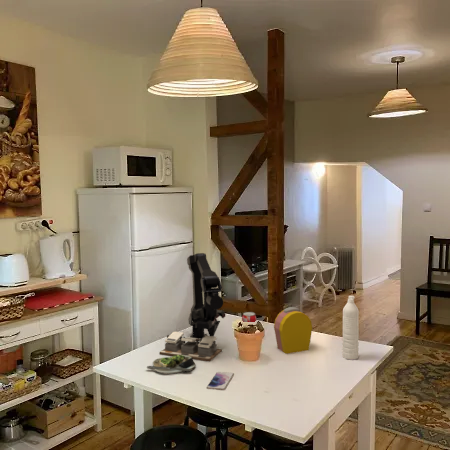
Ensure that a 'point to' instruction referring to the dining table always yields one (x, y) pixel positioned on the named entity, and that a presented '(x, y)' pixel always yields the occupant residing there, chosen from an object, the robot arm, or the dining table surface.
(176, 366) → the salad plate
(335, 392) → the dining table surface
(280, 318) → the alarm clock
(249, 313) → the soda can
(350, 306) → the water bottle
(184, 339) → the switch middle
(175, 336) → the switch
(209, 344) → the switch
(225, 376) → the smartphone
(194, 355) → the switch console
